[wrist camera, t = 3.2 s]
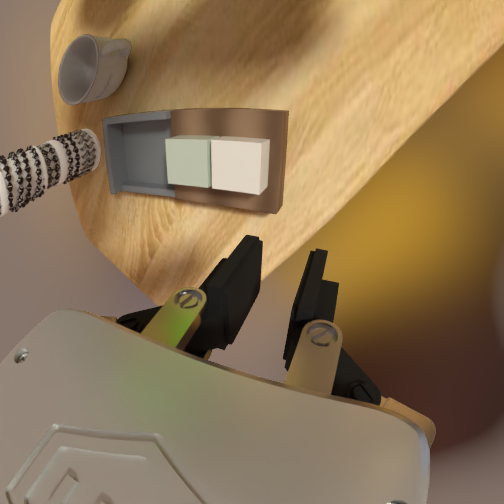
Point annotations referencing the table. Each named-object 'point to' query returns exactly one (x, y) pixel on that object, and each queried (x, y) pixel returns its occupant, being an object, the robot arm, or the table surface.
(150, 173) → the box
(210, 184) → the sage tile
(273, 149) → the walnut wavy ramp
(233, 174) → the white tile
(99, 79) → the teacup
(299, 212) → the table surface
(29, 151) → the decorative candle
